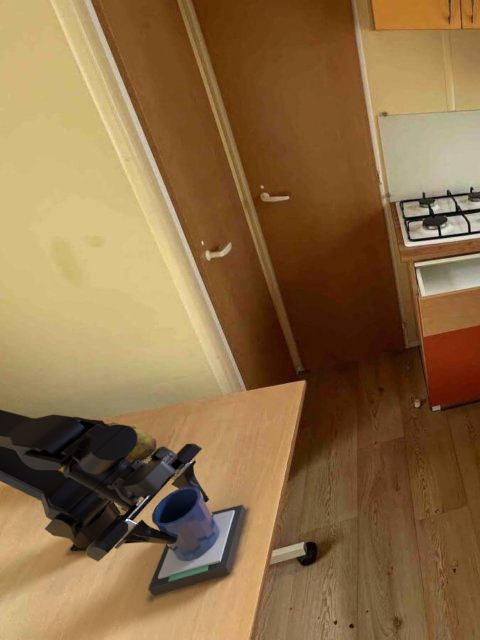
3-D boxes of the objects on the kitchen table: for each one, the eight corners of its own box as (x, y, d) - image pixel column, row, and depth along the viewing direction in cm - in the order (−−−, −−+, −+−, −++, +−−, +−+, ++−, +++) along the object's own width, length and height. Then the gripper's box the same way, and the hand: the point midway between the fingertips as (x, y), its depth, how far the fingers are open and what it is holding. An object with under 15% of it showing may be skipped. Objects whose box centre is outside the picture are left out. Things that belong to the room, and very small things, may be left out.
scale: (230, 574, 77) (225, 565, 76) (153, 596, 74) (146, 587, 73) (246, 511, 87) (242, 502, 86) (179, 528, 84) (174, 519, 83)
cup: (168, 566, 75) (144, 531, 70) (182, 528, 81) (161, 492, 76) (213, 554, 77) (193, 518, 72) (223, 517, 83) (205, 482, 78)
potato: (125, 480, 93) (109, 456, 89) (91, 459, 98) (75, 436, 94) (165, 450, 100) (151, 426, 96) (132, 432, 104) (118, 409, 101)
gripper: (67, 513, 61) (164, 566, 64) (175, 411, 77) (247, 458, 81) (47, 536, 65) (139, 584, 69) (152, 435, 81) (222, 479, 85)
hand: (192, 521), depth 76 cm, fingers closed on cup, 7 cm apart
